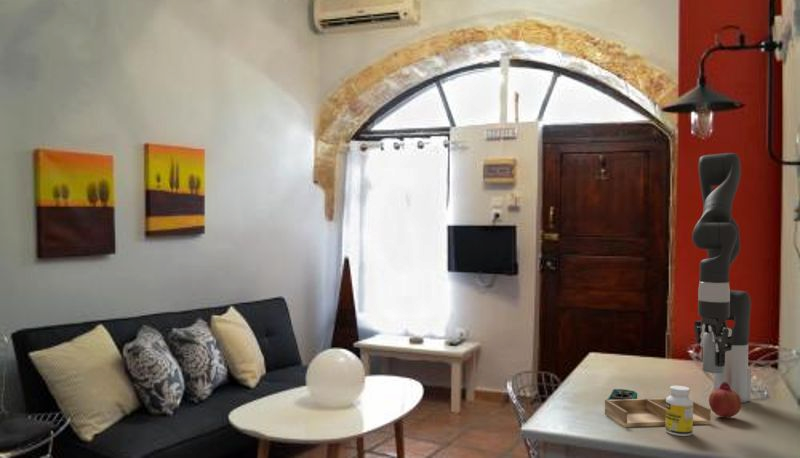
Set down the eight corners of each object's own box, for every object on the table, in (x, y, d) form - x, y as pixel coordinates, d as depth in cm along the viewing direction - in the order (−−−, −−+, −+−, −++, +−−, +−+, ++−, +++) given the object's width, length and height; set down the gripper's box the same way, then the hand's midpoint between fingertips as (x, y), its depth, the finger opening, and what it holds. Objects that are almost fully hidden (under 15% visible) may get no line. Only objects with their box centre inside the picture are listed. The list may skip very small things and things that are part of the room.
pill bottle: (660, 429, 176) (661, 384, 176) (684, 428, 176) (685, 384, 176) (672, 437, 169) (673, 391, 169) (697, 436, 170) (698, 390, 170)
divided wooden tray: (686, 411, 192) (686, 397, 192) (710, 423, 181) (710, 409, 181) (604, 414, 189) (605, 400, 189) (624, 427, 177) (624, 411, 177)
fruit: (702, 416, 187) (703, 380, 187) (717, 412, 192) (718, 377, 192) (731, 424, 181) (732, 386, 181) (746, 419, 186) (747, 382, 186)
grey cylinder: (715, 368, 180) (716, 331, 180) (727, 372, 175) (728, 334, 175) (698, 369, 179) (699, 331, 179) (710, 373, 174) (710, 334, 174)
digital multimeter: (637, 399, 207) (637, 390, 207) (632, 412, 193) (632, 401, 193) (612, 397, 210) (612, 387, 210) (605, 408, 196) (605, 398, 196)
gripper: (745, 302, 170) (744, 369, 170) (710, 295, 184) (709, 357, 185) (718, 302, 169) (717, 370, 169) (684, 296, 183) (684, 358, 183)
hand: (713, 363), depth 177 cm, fingers closed on grey cylinder, 5 cm apart
